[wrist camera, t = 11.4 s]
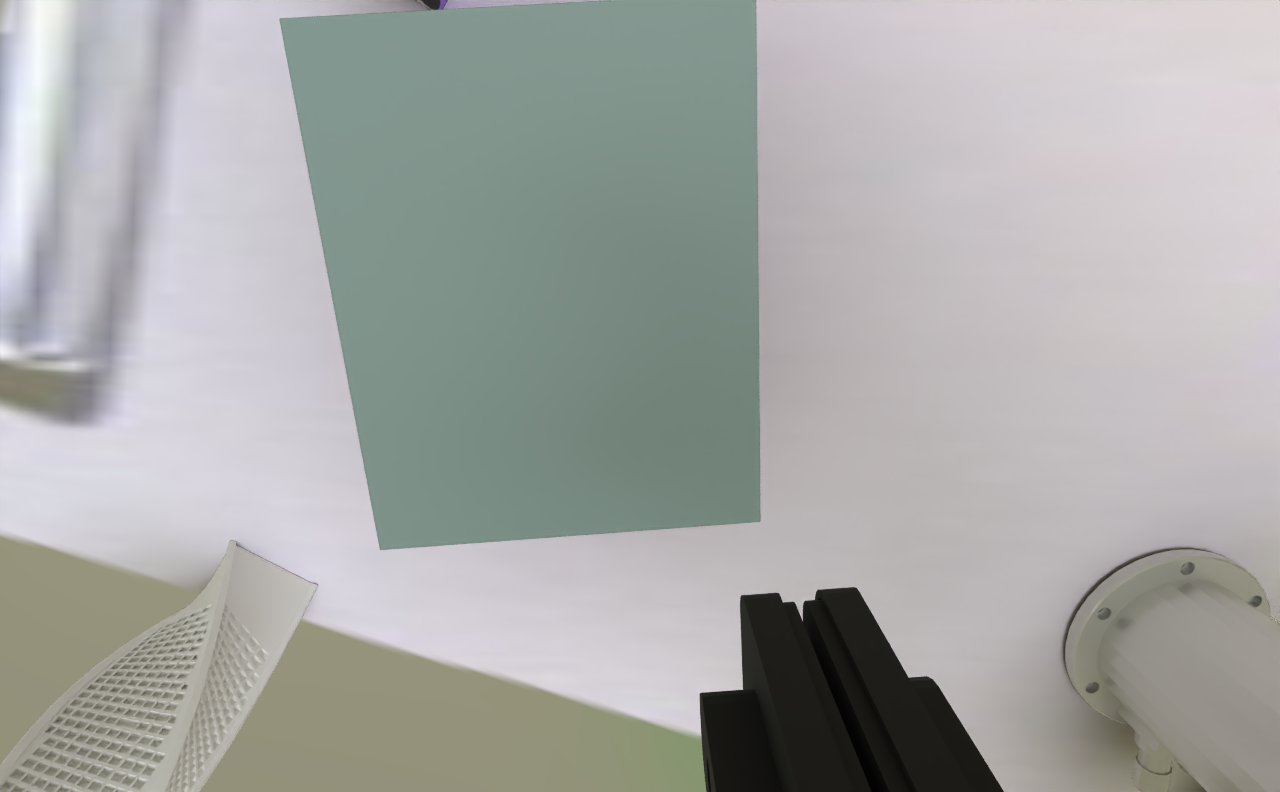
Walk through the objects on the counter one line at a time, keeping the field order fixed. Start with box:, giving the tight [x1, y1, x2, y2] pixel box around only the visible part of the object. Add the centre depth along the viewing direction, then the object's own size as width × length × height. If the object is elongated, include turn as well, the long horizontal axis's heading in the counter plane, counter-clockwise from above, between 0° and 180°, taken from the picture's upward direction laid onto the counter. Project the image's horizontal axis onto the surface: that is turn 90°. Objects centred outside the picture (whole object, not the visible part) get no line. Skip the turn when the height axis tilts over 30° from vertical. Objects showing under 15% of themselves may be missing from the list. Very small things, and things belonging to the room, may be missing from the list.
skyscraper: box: [0, 541, 318, 792], centre depth 29 cm, size 8×8×28 cm
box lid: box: [279, 0, 760, 550], centre depth 28 cm, size 20×16×1 cm
